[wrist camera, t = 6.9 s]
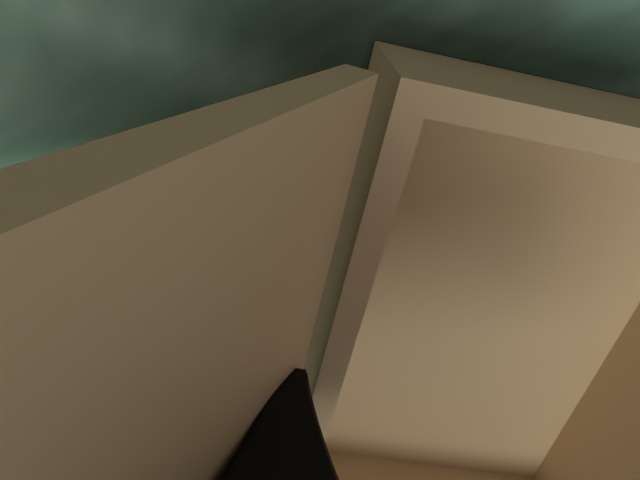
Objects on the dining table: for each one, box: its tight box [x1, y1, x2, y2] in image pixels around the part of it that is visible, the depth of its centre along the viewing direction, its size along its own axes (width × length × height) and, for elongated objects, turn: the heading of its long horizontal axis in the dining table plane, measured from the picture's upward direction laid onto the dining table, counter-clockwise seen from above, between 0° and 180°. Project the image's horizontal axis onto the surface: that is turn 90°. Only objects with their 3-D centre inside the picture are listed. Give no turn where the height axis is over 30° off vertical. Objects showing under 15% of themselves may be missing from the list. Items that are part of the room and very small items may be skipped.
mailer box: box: [303, 41, 640, 480], centre depth 15 cm, size 14×10×4 cm
